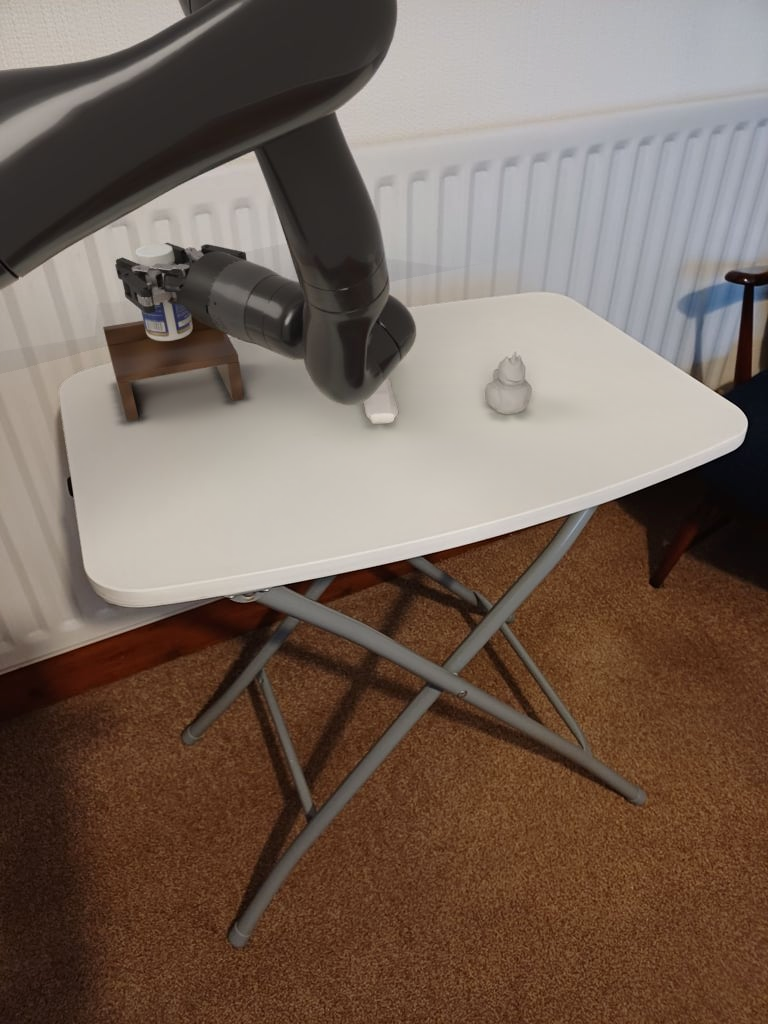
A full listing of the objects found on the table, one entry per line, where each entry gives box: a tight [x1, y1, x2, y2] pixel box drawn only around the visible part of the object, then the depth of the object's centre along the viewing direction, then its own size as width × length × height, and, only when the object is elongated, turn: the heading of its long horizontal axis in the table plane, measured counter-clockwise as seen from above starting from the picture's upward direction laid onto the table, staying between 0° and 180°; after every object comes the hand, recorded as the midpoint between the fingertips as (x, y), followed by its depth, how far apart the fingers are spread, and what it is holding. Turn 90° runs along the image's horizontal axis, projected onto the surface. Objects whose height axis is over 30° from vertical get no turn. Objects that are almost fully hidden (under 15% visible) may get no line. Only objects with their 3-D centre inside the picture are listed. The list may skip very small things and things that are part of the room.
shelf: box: [102, 315, 245, 422], centre depth 94 cm, size 14×9×8 cm, turn 112°
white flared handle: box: [363, 376, 399, 425], centre depth 94 cm, size 6×18×4 cm, turn 4°
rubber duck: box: [484, 350, 533, 415], centre depth 91 cm, size 5×7×8 cm
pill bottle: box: [134, 243, 193, 341], centre depth 88 cm, size 5×5×10 cm
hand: (143, 259), depth 88 cm, fingers closed on pill bottle, 5 cm apart
